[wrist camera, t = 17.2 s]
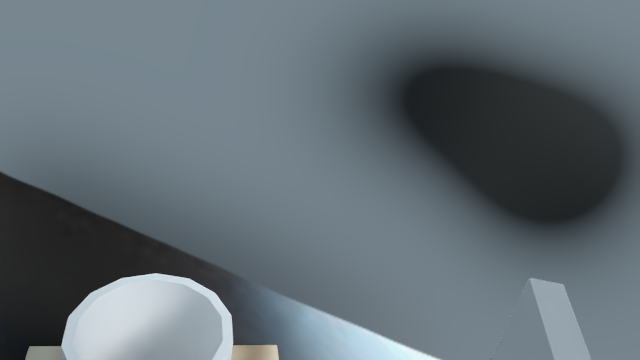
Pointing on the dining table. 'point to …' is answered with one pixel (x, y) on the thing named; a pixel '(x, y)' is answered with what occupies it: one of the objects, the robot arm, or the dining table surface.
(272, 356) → the serving board
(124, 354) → the foam cup
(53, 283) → the dining table surface
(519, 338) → the robot arm
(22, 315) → the dining table surface
